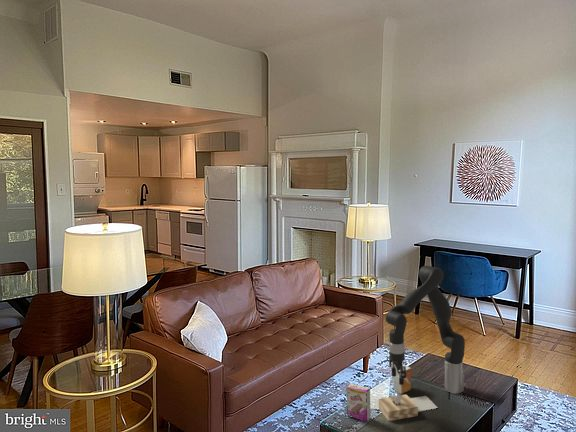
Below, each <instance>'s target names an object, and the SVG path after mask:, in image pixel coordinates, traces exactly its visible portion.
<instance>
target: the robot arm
mask: <svg viewBox="0 0 576 432" xmlns="http://www.w3.org/2000/svg"><path fill="white" fill-rule="evenodd" d="M418 275H419V277H418V278H419V279H420V282H421V285H420V286H418V287H417V288H415V289H413V290H411V291H410V292H408V293H407V294H406V295H405V296H404V297H403V299H402V300H401V301H400V302H399V303H397V304H396V305H395V306H393V307H392V308H391V309H390V310H389V311H387V313H386V314H385V315H386V316H385V322H387V324H389V325H391V326H392V327H395V328H392V329H390V331H389V334H388V335H389V342H388V343H389V345H388V349H389V351H388V352H389V354H388V355H389V356H388V367H389V368H390V370H391V377H392V378H393V377H395V376H396V371H397V373H398V375H399V384H400V385H403V384H404V378H406V367H405V366H403V364H404V363H403V362H404V361H405V360H406V356H405V354H406V353H405V352H406V351H405V339H404V337H405V336H404V335H405V331H406V326H407V321H408V320H407V317H406V315H409V314H412V312H413V311H414V310H415V308H416V307H417V306H418V304H419V303H420V302H421V301H423V299H424V298H425V297H428V301H429V302H430V306H431V309H432V312H433V314H434V318H435V320H436V323H437V326H438V329H439V330H438V331H439V334H440V335H439V336H440V339H441V342H442V344H443V345H444V346H445V347H446V348H449V349H450V352H447V353H445V355H444V390H445V391H446V392H448V393H449V392H450V394H456V395H457V394H458V395H459V394H462V393H463V392H464V391H465V375H464V373H463V363H464V362H463V359H464V357H465V348H466V346H465V345H466V343H465V342H466V341H465V338H464V336H463V335H462V334H460V333H458V332H456V331H454V330H453V328H452V326H451V322H450V321H451V317H452V309H451V305H450V302H449V300H448V299H447V297H446V296H445V294H444V293H442V291H441V290H440V289H439V287H438V286H439V285H440V284H441V283H442V282H443V280H444V271H443V270H442V269H441V268H439V267H437V266H436V267H435V266H431V265H430V266H429V265H424V266H421V267H420V269H419V273H418ZM399 370H400V371H399ZM400 374H401V375H400Z"/></svg>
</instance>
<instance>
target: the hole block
mask: <svg viewBox="0 0 576 432" xmlns="http://www.w3.org/2000/svg"><path fill="white" fill-rule="evenodd" d="M410 398H411V397H410V396H408V394H401V405H398V406H395V395H394V396H389V397H383V398H378V409H379V411H380V412H381V413H382V414H383V416H384V417H385V419H386V420H387V421H388V422H391V421H397V420H402V419H409V418H413V417H418V416H419V412H418V406H417V405H416V404H415V403H414V402H413V401H412V400H411V399H410Z"/></svg>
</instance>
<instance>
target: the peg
mask: <svg viewBox="0 0 576 432" xmlns="http://www.w3.org/2000/svg"><path fill="white" fill-rule="evenodd" d="M401 395H402V394H401V393H399V392H397V391H395V392H394V396H395V406H398V405H401Z"/></svg>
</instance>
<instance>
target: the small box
mask: <svg viewBox="0 0 576 432" xmlns="http://www.w3.org/2000/svg"><path fill="white" fill-rule="evenodd" d="M402 364H403V366H405V367H406V378H404V384H403V385H400V384H399V375H398V373H397V371H396V376H395V377H392V379H393V380H392V382H393V384H392V385H393V386H392V388H393V390H394V391H395V392H399V393H400V394H401V395H404V393H407V392H408V391H411V390H412V368H411V367H410V366H408V365H405V364H404V363H402ZM399 371H400V370H399ZM400 375H401V374H400Z"/></svg>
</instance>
